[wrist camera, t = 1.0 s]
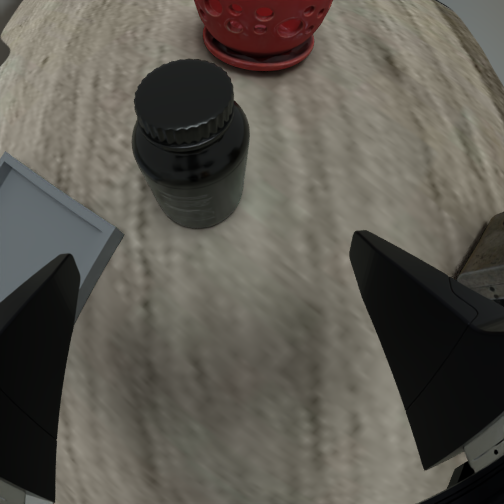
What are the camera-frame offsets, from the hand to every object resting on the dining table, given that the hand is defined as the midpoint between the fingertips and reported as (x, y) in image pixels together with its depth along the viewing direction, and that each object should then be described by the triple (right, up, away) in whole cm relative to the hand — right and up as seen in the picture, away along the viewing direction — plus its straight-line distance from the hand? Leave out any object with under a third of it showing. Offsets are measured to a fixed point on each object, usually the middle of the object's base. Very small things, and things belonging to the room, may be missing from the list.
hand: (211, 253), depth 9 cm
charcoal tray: (-19, -1, +12) cm, 23 cm away
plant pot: (+1, +23, +19) cm, 30 cm away
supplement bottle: (-3, +5, +15) cm, 17 cm away
